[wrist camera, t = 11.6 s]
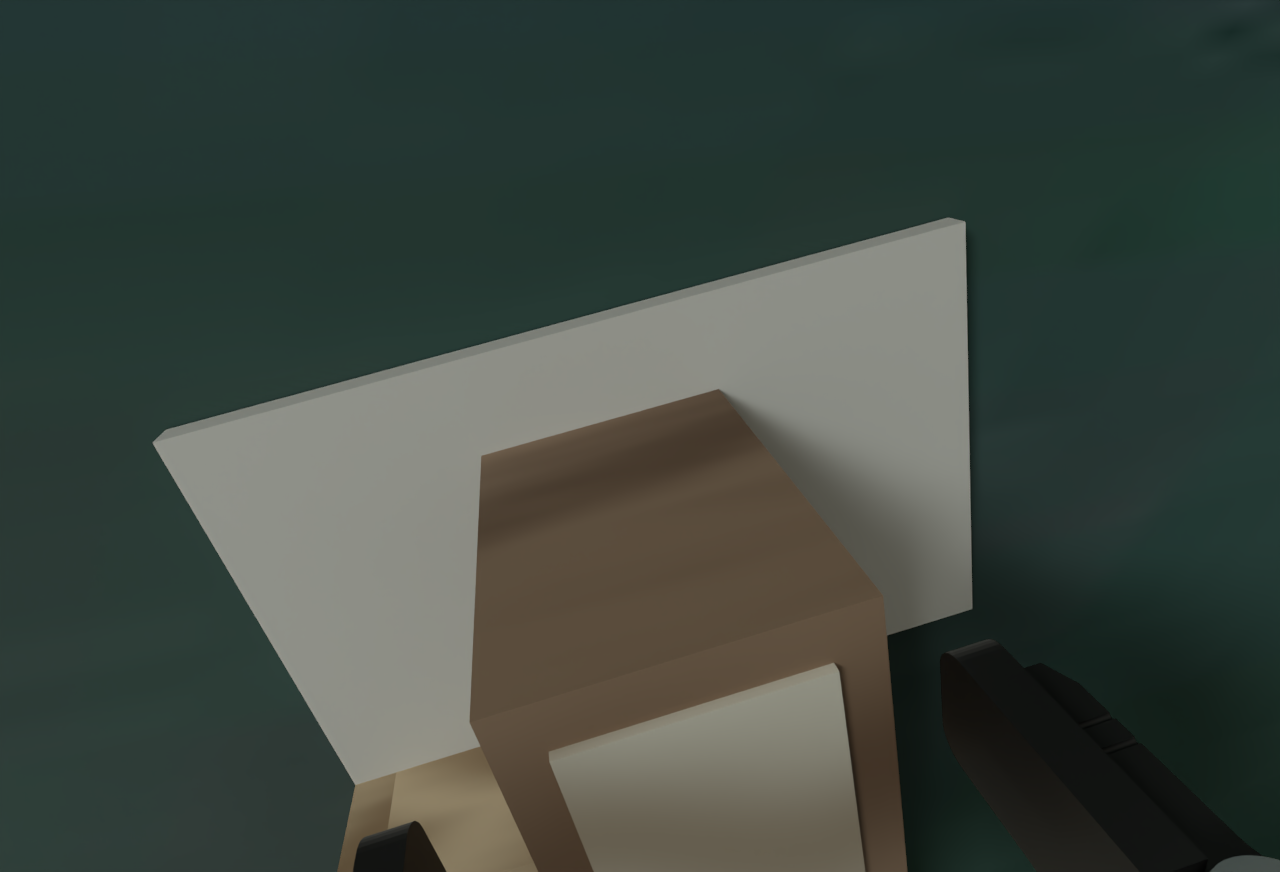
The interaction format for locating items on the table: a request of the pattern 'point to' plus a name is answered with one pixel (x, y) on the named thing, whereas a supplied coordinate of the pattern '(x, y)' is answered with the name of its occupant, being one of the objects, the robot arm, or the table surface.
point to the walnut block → (679, 656)
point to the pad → (567, 400)
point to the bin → (443, 814)
